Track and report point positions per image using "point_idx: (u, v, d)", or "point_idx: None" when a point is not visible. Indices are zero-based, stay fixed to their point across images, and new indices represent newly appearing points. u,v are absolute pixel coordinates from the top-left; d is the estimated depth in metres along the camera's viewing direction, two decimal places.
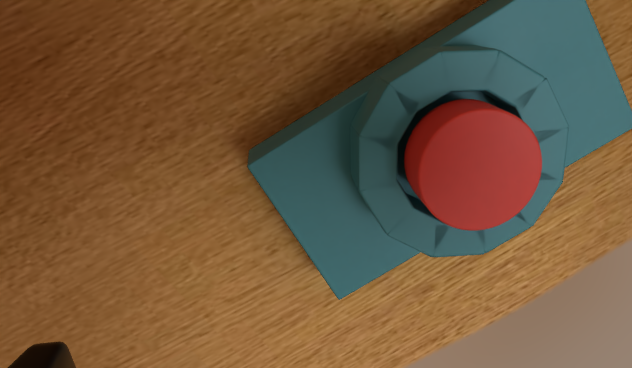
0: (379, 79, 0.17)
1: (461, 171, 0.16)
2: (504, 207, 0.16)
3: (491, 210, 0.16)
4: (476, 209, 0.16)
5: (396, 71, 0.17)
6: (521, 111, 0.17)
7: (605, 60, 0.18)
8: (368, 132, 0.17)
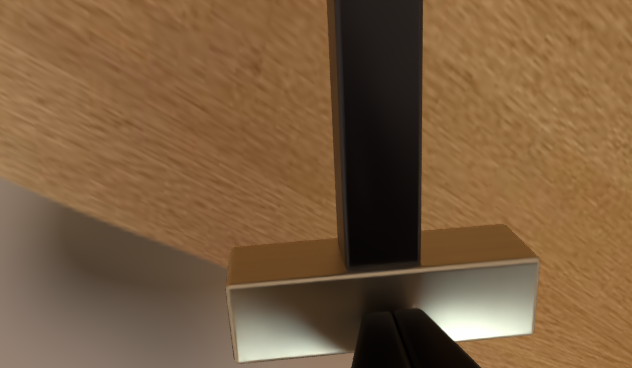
0: None
1: None
2: None
3: None
4: None
5: None
6: None
7: None
8: None
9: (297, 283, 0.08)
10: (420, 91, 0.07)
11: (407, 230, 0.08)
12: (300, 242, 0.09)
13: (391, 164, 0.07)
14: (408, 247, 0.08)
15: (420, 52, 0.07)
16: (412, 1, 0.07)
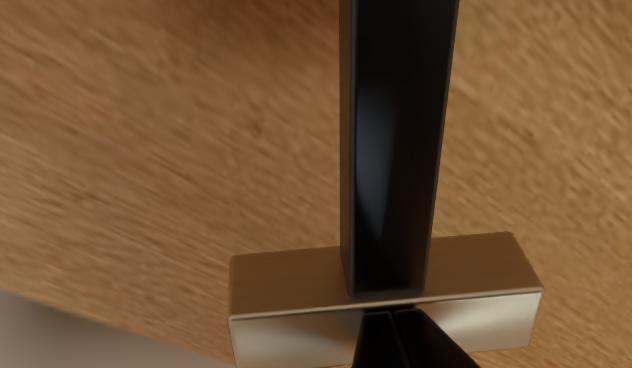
0: None
1: None
2: None
3: None
4: None
5: None
6: None
7: None
8: None
9: (300, 313, 0.08)
10: (440, 142, 0.06)
11: (414, 265, 0.08)
12: (301, 252, 0.09)
13: (402, 210, 0.07)
14: (413, 279, 0.08)
15: (445, 105, 0.06)
16: (441, 53, 0.06)
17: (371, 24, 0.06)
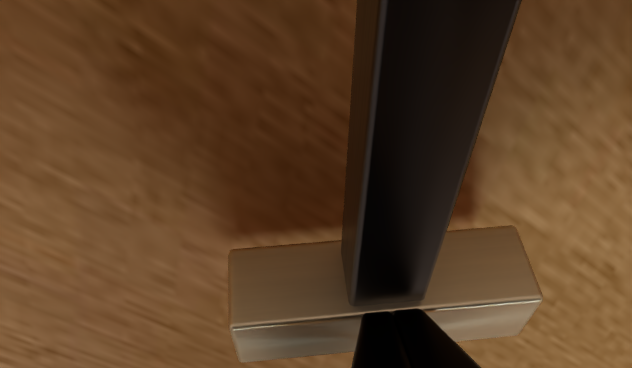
0: None
1: None
2: None
3: None
4: None
5: None
6: None
7: None
8: None
9: (300, 320, 0.08)
10: (457, 193, 0.06)
11: (417, 283, 0.08)
12: (301, 248, 0.08)
13: (410, 245, 0.07)
14: (415, 291, 0.08)
15: (466, 166, 0.06)
16: (469, 123, 0.05)
17: (393, 102, 0.05)
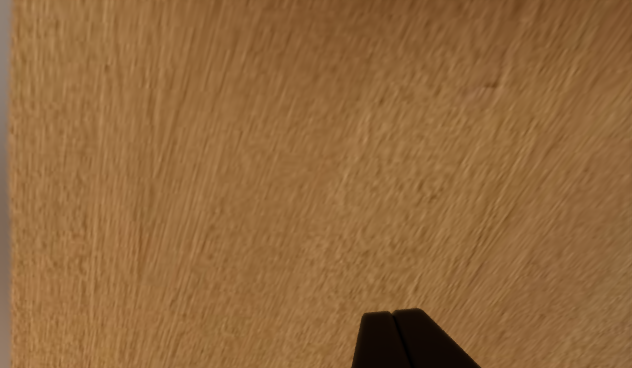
0: None
1: None
2: None
3: None
4: None
5: None
6: None
7: None
8: None
9: None
10: None
11: None
12: None
13: None
14: None
15: None
16: None
17: None
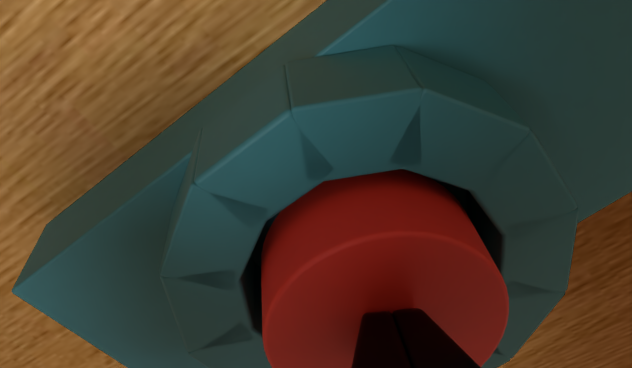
0: None
1: None
2: (326, 286, 0.07)
3: (354, 277, 0.07)
4: (387, 274, 0.07)
5: None
6: None
7: (123, 359, 0.12)
8: (549, 297, 0.10)
9: None
10: None
11: None
12: None
13: None
14: None
15: None
16: None
17: None
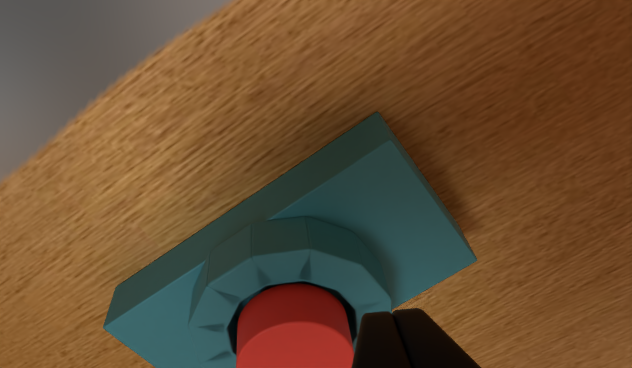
0: None
1: (314, 364, 0.17)
2: (265, 344, 0.16)
3: (278, 340, 0.16)
4: (294, 339, 0.16)
5: None
6: None
7: (159, 366, 0.21)
8: None
9: None
10: None
11: None
12: None
13: None
14: None
15: None
16: None
17: None
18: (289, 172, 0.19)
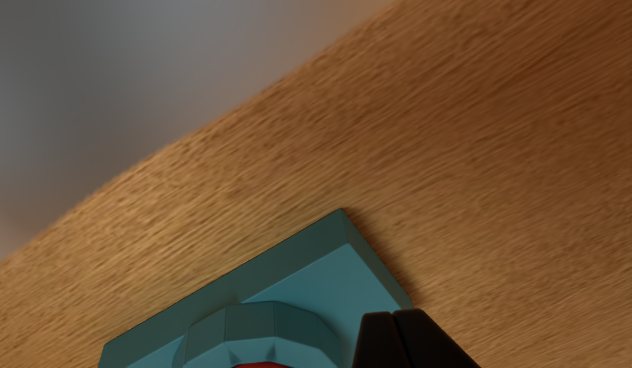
0: None
1: None
2: None
3: None
4: None
5: None
6: None
7: None
8: None
9: None
10: None
11: None
12: None
13: None
14: None
15: None
16: None
17: None
18: (262, 256, 0.22)
